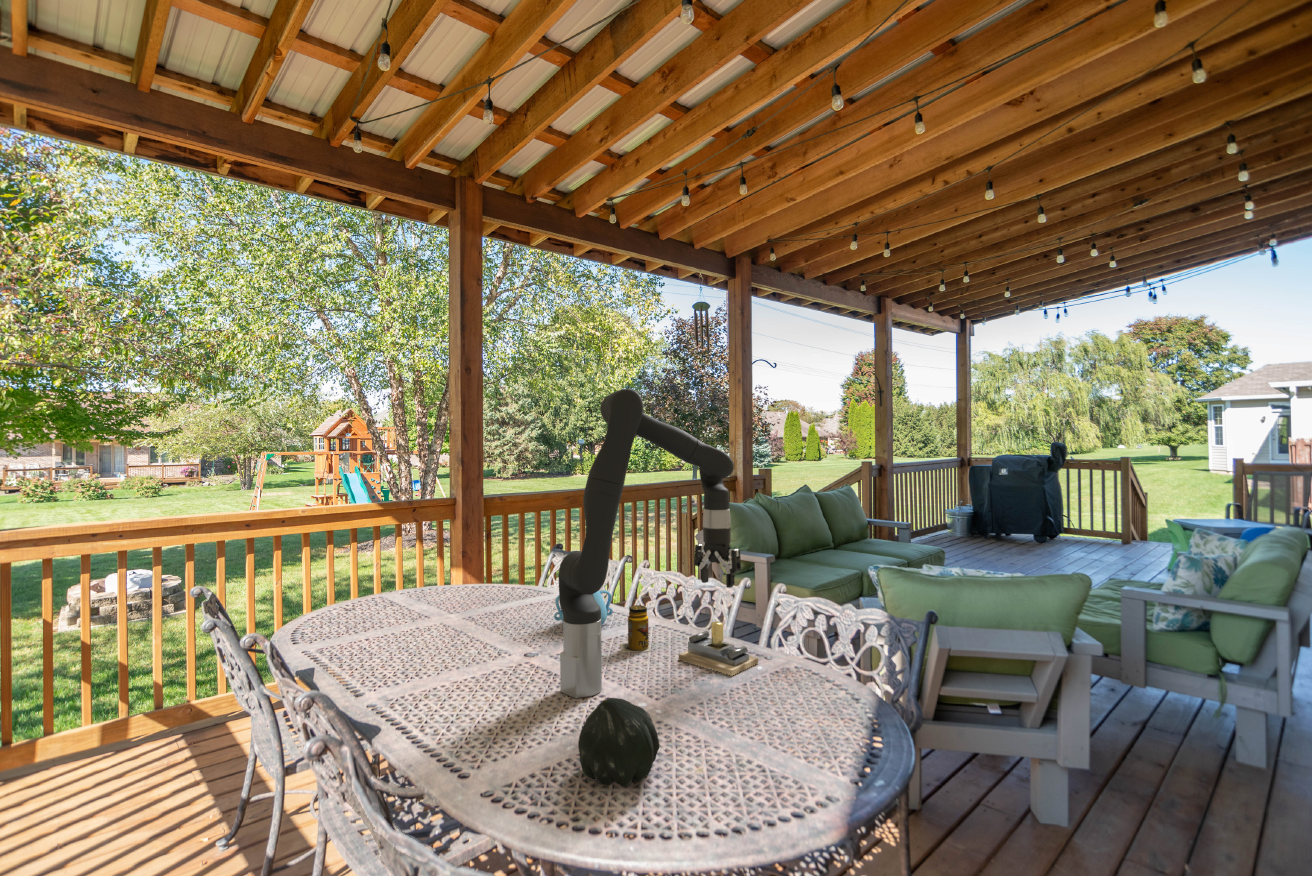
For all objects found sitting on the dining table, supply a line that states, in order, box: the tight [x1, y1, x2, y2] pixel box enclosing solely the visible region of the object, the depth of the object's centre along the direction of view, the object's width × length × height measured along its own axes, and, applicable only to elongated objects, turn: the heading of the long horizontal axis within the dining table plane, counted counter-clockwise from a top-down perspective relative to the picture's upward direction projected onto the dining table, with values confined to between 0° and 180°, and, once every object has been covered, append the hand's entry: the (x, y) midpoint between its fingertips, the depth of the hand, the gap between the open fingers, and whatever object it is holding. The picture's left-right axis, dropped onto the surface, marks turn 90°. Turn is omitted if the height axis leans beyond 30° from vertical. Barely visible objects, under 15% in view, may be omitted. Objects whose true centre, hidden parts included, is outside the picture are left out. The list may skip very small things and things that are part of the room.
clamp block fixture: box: [678, 630, 759, 677], centre depth 166 cm, size 12×18×6 cm, turn 47°
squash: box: [577, 697, 660, 787], centre depth 110 cm, size 14×15×15 cm
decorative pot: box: [553, 589, 614, 627], centre depth 200 cm, size 20×20×14 cm
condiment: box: [619, 604, 652, 654], centre depth 178 cm, size 7×8×12 cm
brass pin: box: [710, 620, 724, 649], centre depth 166 cm, size 3×3×9 cm
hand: (717, 584), depth 166 cm, fingers open, 8 cm apart
